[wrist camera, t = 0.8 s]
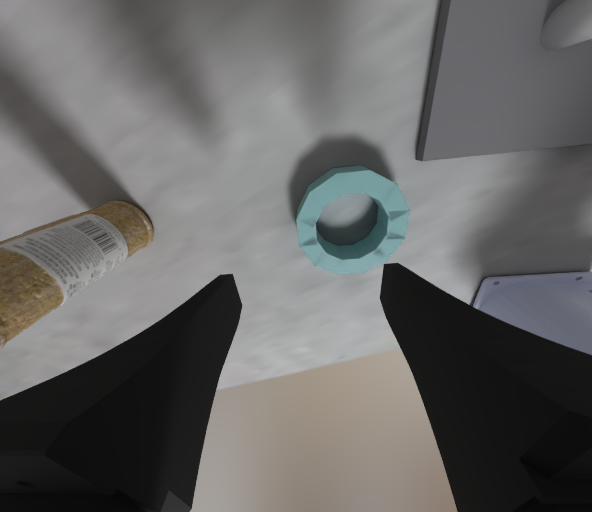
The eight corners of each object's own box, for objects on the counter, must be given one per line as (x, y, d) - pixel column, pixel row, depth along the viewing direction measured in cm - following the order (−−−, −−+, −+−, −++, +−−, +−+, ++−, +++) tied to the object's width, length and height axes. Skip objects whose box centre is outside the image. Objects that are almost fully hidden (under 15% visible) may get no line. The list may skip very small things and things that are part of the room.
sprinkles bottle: (91, 206, 18) (-293, 335, 6) (136, 193, 17) (-202, 311, 6) (124, 251, 20) (-118, 409, 9) (166, 242, 20) (-37, 399, 8)
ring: (401, 160, 16) (417, 165, 13) (389, 255, 19) (399, 270, 17) (293, 171, 16) (291, 177, 14) (302, 261, 20) (302, 276, 18)
